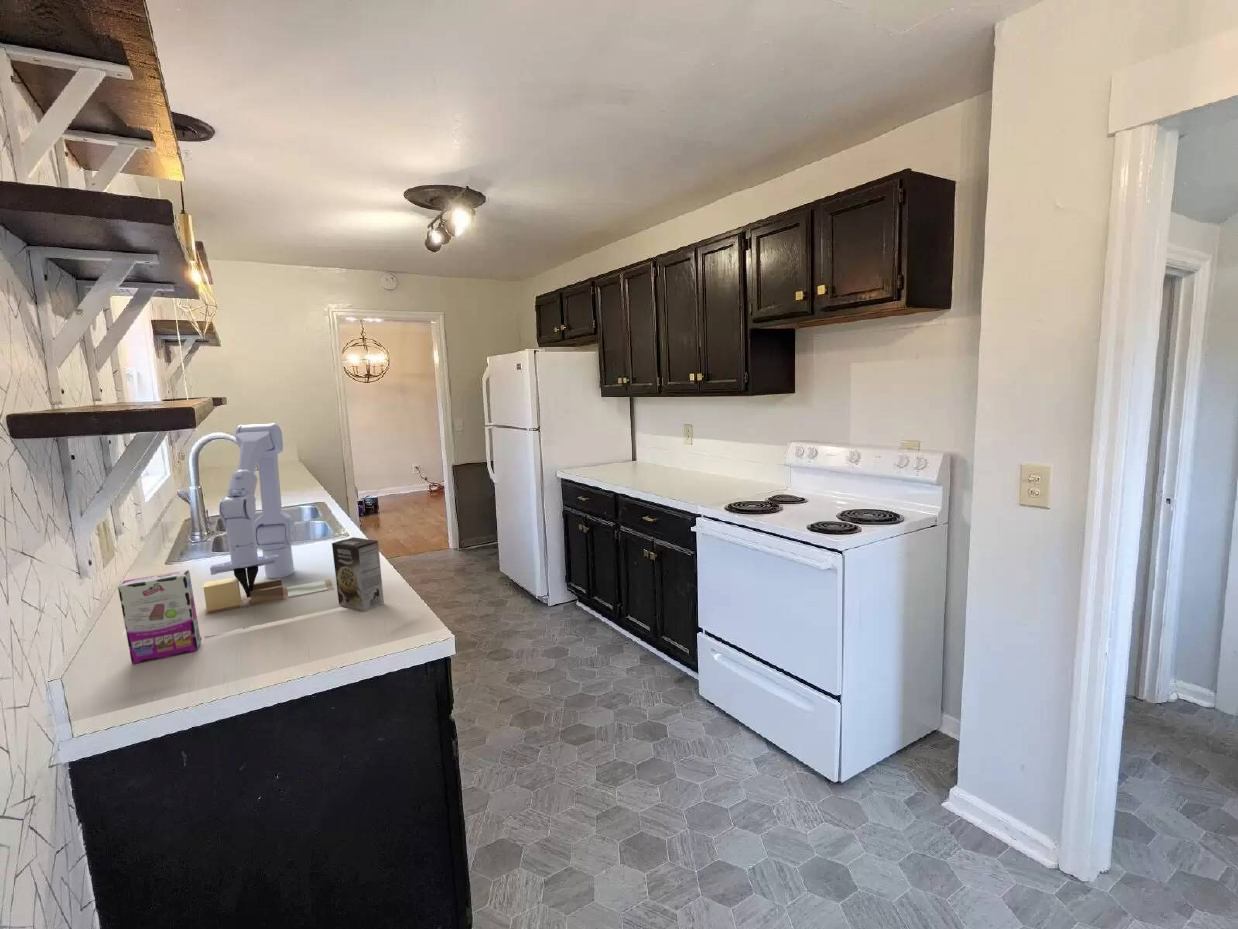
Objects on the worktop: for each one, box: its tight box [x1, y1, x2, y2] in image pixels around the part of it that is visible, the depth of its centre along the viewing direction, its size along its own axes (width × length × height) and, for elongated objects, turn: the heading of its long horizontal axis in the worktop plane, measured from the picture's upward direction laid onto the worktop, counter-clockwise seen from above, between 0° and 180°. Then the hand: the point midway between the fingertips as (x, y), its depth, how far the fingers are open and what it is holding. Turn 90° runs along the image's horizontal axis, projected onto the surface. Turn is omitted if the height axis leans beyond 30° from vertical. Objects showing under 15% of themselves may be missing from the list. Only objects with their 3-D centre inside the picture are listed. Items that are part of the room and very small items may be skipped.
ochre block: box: [203, 576, 242, 611], centre depth 148 cm, size 4×7×6 cm, turn 121°
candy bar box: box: [117, 569, 202, 665], centre depth 123 cm, size 11×5×16 cm, turn 117°
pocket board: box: [204, 577, 335, 616], centre depth 154 cm, size 10×28×4 cm, turn 121°
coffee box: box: [331, 536, 385, 613], centre depth 146 cm, size 9×6×16 cm
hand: (249, 596), depth 152 cm, fingers closed
